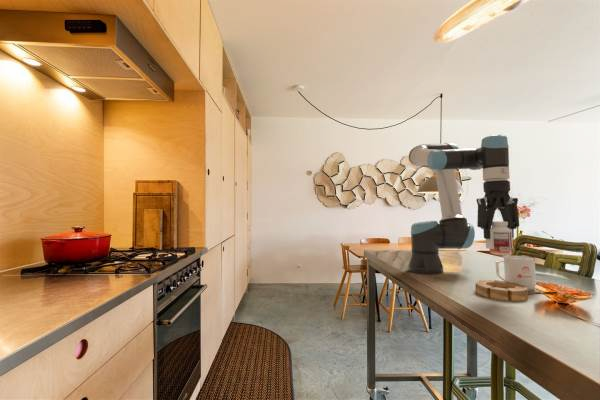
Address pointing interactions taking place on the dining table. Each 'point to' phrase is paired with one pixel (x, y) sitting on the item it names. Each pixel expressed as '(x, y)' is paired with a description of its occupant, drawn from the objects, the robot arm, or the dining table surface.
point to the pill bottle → (501, 238)
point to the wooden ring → (501, 290)
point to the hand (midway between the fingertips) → (499, 248)
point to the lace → (534, 292)
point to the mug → (519, 271)
